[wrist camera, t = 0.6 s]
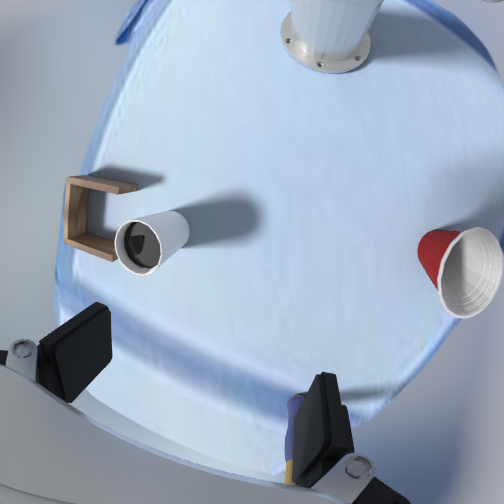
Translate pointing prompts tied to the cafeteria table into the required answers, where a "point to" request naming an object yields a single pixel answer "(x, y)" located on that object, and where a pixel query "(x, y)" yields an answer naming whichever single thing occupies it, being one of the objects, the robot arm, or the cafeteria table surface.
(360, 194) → the cafeteria table surface
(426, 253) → the plastic cup
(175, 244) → the white paper cup
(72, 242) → the box
